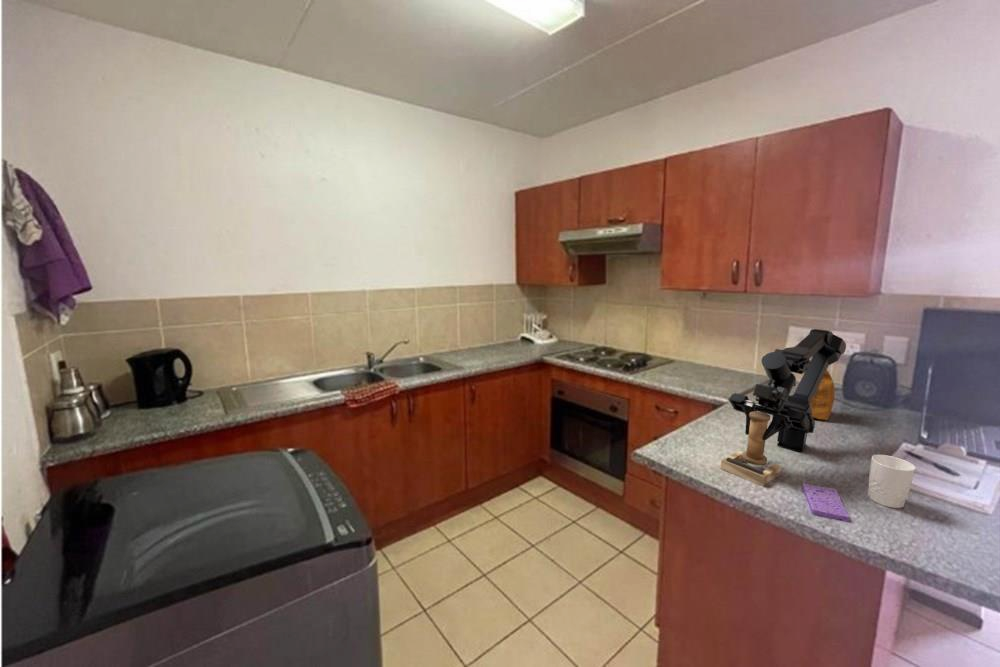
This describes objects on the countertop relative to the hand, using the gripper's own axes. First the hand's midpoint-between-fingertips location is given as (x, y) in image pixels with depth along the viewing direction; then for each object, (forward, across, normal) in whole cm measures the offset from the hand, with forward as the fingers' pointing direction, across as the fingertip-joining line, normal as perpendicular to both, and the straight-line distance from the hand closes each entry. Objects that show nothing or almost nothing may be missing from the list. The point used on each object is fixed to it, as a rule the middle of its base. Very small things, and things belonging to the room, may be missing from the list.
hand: (754, 436), depth 119 cm
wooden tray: (+7, 0, +7) cm, 10 cm away
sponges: (+9, +18, +6) cm, 21 cm away
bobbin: (+4, 0, +6) cm, 7 cm away
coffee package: (-36, -5, +51) cm, 63 cm away
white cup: (-1, +26, +16) cm, 30 cm away
